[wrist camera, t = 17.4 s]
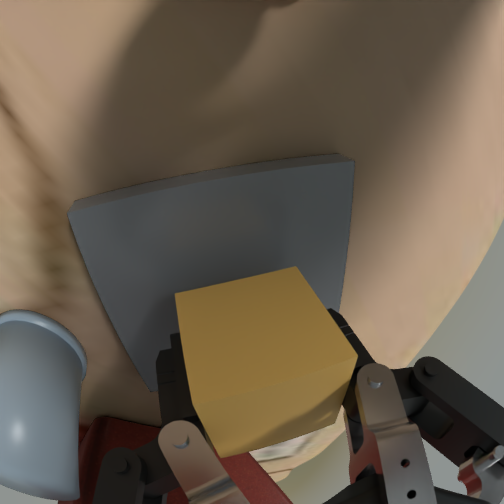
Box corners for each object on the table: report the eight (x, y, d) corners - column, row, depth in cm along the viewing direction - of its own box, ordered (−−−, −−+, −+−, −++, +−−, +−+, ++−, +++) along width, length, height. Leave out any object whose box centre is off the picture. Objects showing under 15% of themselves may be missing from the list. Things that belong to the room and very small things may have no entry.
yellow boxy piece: (296, 266, 11) (357, 355, 8) (293, 344, 14) (334, 423, 10) (174, 293, 10) (192, 404, 7) (198, 368, 13) (220, 458, 9)
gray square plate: (339, 153, 12) (354, 160, 11) (324, 332, 18) (332, 345, 17) (74, 200, 10) (67, 213, 9) (149, 375, 16) (150, 392, 15)
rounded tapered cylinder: (56, 300, 12) (24, 458, 5) (104, 378, 15) (108, 504, 9) (-26, 317, 11) (-68, 440, 4) (27, 385, 14) (15, 494, 8)
